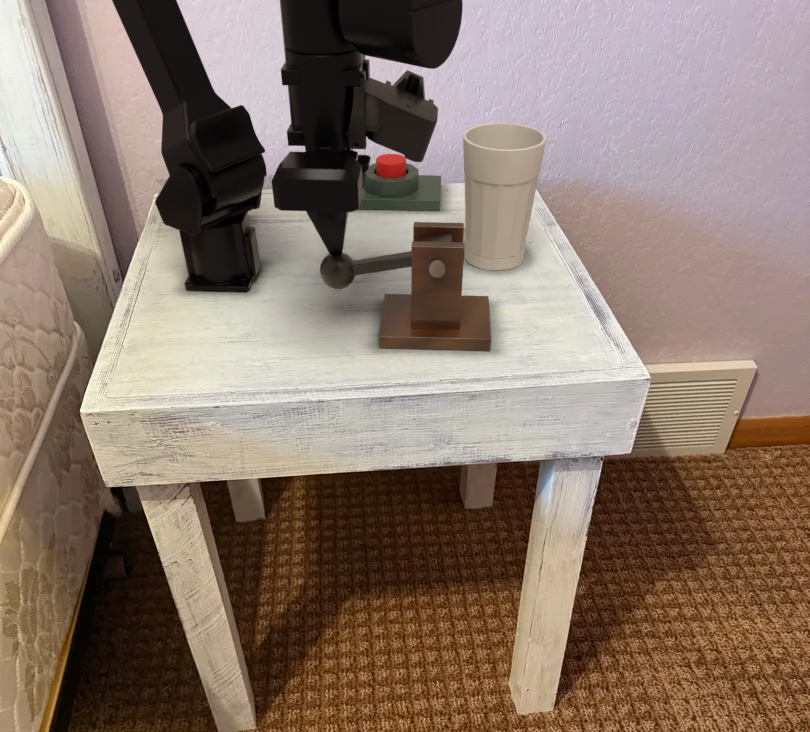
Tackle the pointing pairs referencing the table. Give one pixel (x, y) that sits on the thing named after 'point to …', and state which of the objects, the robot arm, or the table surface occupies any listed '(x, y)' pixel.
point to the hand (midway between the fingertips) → (336, 253)
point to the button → (391, 166)
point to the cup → (499, 191)
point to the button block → (401, 191)
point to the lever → (366, 264)
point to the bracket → (436, 299)
